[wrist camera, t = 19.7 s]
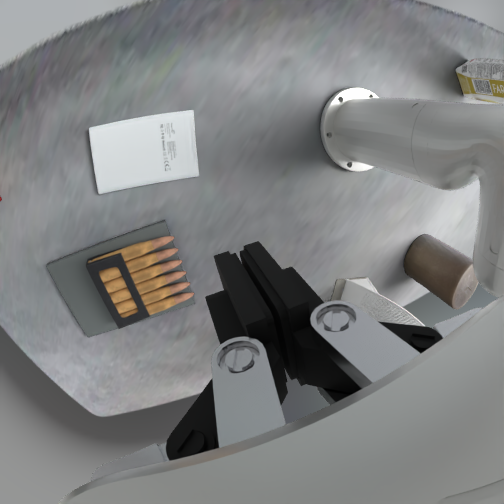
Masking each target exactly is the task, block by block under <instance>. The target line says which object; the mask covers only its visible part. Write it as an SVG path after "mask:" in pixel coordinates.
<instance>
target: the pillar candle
mask: <svg viewBox="0 0 504 504" xmlns="http://www.w3.org/2000/svg"><path fill="white" fill-rule="evenodd" d="M404 270H405V273H406V274H407V275H408V276H410V277H412V278H413V279H414V280H415V281H416V282H418V283H420V284H421V285H423V286H424V287H425V288H427V289H428V290H429V291H430V292H432V293H433V294H435V295H436V296H437V297H439V298H440V299H441V300H443V301H444V302H445V303H447V304H448V305H449V306H451V307H452V308H454V309H459V308H461V307H462V306H464V305H465V304H466V303H467V301H468V300H469V299H470V297H471V296H472V294H473V293H474V291H475V289H476V287H477V285H478V280H477V278H476V276H475V274H474V269H473V259H471V258H469V257H467V256H466V255H464V254H462V253H461V252H459V251H457V250H456V249H454V248H452V247H451V246H449V245H447V244H445V243H443V242H441V241H440V240H438V239H436V238H434V237H432V236H431V235H428V234H424V235H421V236H419V237H418V238H417V239H416V240H415V241H414V242H413V243H412V245H411V246H410V248H409V250H408V252H407V255H406V257H405V261H404Z"/></svg>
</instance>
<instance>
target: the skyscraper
mask: <svg viewBox="0 0 504 504" xmlns="http://www.w3.org/2000/svg"><path fill="white" fill-rule="evenodd" d="M335 300H337V301H346V302H350V303H352V304H354V305H356V306H357V307H358V308H360V309H361V310H362V311H364V312H365V313H367V314H368V315H369V316H371V317H372V318H373V319H375V320H376V321H379V322H388V323H397V324H407V325H417V326H425V325H424V324H423V323H421V322H420V321H419V320H418V319H417V318H416V317H414V316H413V315H412V314H411V313H409V312H408V311H407V310H405V309H404V308H402V307H401V306H399V305H398V304H396V303H395V302H393V301H391V300H389V299H388V298H386V297H384V296H382V295H380V294H379V293H378V292H377V290H376V289H375V287H374V286H373V284H372V283H371V281H370V280H369V278H368V277H362V278H350V279H338V280H336V284H335V288H334V291H333V295H332V299H331V301H335ZM425 327H426V326H425Z"/></svg>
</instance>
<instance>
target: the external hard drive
mask: <svg viewBox="0 0 504 504" xmlns="http://www.w3.org/2000/svg"><path fill="white" fill-rule="evenodd" d="M89 135H90V144H91V151H92V158H93V165H94V171H95V177H96V183H97V188H98V193H99V194H103V193H108V192H113V191H117V190H122V189H127V188H133V187H138V186H143V185H148V184H154V183H160V182H166V181H172V180H178V179H184V178H191V177H198V176H199V169H198V160H197V149H196V137H195V125H194V113H193V110H188V111H179V112H171V113H164V114H157V115H150V116H144V117H139V118H133V119H128V120H122V121H117V122H113V123H108V124H104V125H99V126H95V127H91V128H89Z"/></svg>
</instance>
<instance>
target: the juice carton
mask: <svg viewBox="0 0 504 504" xmlns="http://www.w3.org/2000/svg"><path fill="white" fill-rule="evenodd" d="M456 73H457V76H458V79H459V82H460V85H461V89H462V92H463V95H464V96H465V97H467V98H471V99H476V100H481V101H487V102H493V103H499V104H504V60H498V59H472V60H469V61H467V62H466V63H465V64H463V65H461V66H459V67H458V68H456Z"/></svg>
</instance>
